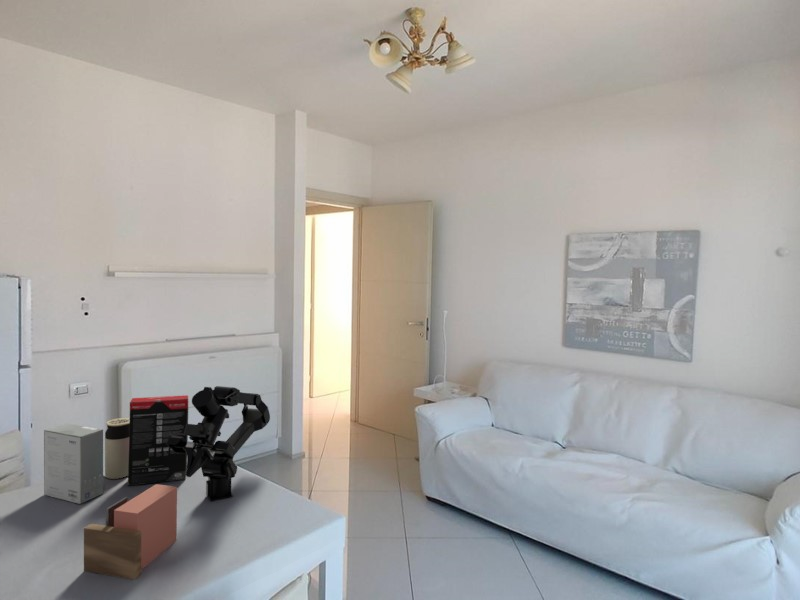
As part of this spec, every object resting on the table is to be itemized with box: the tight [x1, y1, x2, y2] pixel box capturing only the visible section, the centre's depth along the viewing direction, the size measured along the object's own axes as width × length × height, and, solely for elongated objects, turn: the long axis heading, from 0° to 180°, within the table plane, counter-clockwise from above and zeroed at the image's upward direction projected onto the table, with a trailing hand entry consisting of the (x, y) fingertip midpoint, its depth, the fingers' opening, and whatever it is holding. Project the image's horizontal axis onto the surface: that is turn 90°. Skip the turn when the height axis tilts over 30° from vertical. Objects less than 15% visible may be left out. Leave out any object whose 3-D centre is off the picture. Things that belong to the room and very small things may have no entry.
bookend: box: [105, 496, 129, 527], centre depth 113 cm, size 6×5×14 cm
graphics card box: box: [127, 394, 189, 486], centre depth 156 cm, size 17×7×27 cm, turn 114°
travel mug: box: [104, 417, 130, 480], centre depth 159 cm, size 8×8×18 cm
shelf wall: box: [83, 523, 142, 580], centre depth 108 cm, size 2×13×10 cm, turn 80°
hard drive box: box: [43, 423, 104, 505], centre depth 144 cm, size 16×8×20 cm, turn 71°
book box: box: [114, 483, 178, 571], centre depth 115 cm, size 14×6×14 cm, turn 170°
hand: (188, 476), depth 131 cm, fingers closed
